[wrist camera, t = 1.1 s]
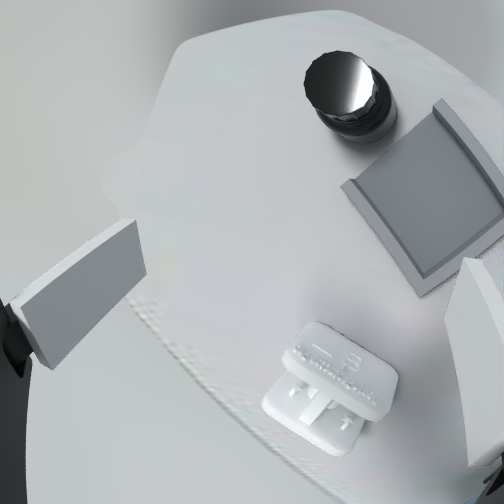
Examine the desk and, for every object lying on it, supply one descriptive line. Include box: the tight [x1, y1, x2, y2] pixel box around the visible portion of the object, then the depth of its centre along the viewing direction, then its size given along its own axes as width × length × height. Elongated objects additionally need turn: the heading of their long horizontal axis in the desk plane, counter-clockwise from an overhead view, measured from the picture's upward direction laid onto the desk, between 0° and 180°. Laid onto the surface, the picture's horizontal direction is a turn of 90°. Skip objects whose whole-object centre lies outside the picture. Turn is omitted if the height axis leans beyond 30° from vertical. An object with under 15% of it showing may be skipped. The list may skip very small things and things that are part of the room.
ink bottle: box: [304, 51, 397, 144], centre depth 31 cm, size 10×9×12 cm
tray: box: [340, 98, 504, 297], centre depth 32 cm, size 16×16×4 cm
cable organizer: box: [261, 322, 398, 457], centre depth 39 cm, size 15×11×12 cm
